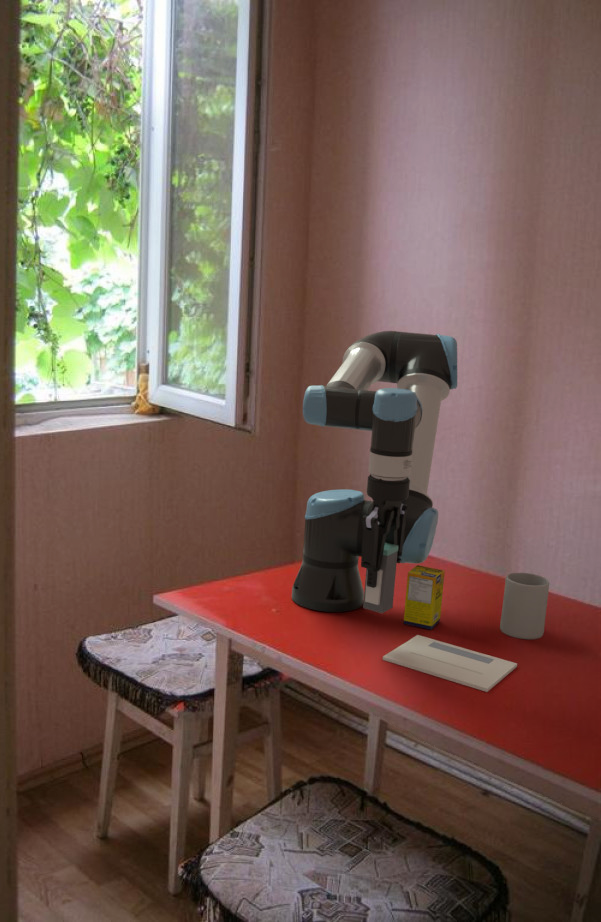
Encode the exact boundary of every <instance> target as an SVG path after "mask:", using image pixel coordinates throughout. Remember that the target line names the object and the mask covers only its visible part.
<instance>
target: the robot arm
mask: <svg viewBox="0 0 601 922" xmlns="http://www.w3.org/2000/svg"><path fill="white" fill-rule="evenodd" d="M341 363H342V364H341V365H340V366H339V368H338V369H337V371H336V372H335V374H333V376H332V377H331V379H330V380H329V381H328V383H327V384H326V385H323V384H320V385H314V384H313V385H309V386H307V388H306V390H305V392H304V396H303V401H302V417H303V420H304V422H305V423H307V424H308V425H315V426H319V427H323V428H324V427H329V428H339V429H349V430H359V431H366V432H367V431H368V432H371V439H370V449H369V450H370V451H369V458H368V459H369V460H368V469H367V470H368V473H369V475H368V476H367V483H366V484H367V485H366V486H367V487H366V495H367V496H368V497H369V498H371V499H372V500H365V495H364V493H363V492H362V491H360V490H355V489H331V490H329V489H328V490H324V491H323V490H322V491H320V492H316V493H314V494H313V495H311V496H310V497H309V498H308V500H307V502H306V508H305V509H306V511H305V515H304V519H305V520H304V531H303V532H304V534H303V535H304V536H303V546H302V547H303V548H302V549H303V550H302V553H303V554H302V562H301V565H300V567H299V570H298V573H297V574H296V577H295V580H294V581H293V584H292V588H291V590H292V591H291V599H292V601H293V602H294V603H296V604H297V605H298V606H301V607H302V608H303V607H304V608H306V609H310V610H313V611H319V612H328V613H329V612H330V613H340V612H343V613H345V612H349V611H355V610H357V609H359V608H361V607H363V603H364V591H365V589H364V587H363V583H362V579H361V575H360V570H359V560H360V561H361V563H360V567H361V568H364V569H366V568H367V569H368V570H367V582H366V594H365V602H369V603H372V604H376V605H379V604H380V596H381V585H382V573H383V570H381V569H380V567H381V562H382V556H383V551H384V545H385V542H386V543H390V544H394V545H398V553H397V564H416V565H419V564H423V563H424V562H425V561H427V558H428V557H429V554H430V552H431V549H432V546H433V543H434V539H435V536H436V531H437V526H438V520H439V511H438V509H436V508H434V507H433V505H434V503H433V499H432V498H431V497H430V496H429V495H428V489H429V483H430V477H431V475H430V474H431V470H432V469H431V468H432V462H433V457H434V456H433V455H434V449H435V443H436V435H437V431H438V424H439V423H438V422H439V417H440V410H441V405H442V404H441V403H442V401H444V400H446V399H447V398H448V397H449V396H450V391H451V390H454V389H457V388H458V342H457V340H456V339H455V337H453V336H450V335H441V334H439V333H436V334H431V333H429V334H428V333H421V332H420V333H418V332H417V333H416V332H408V331H407V332H406V331H396V330H384V331H379V332H378V331H377V332H375V333H372V334H369V335H366V336H364V337H362V338H360V339H358V340H356V341H355V342H354V343H352V344H351V345H349V347H348V348H347V350H346V351H345V352H344V355H343V357H342V361H341ZM377 382H380V383H381V382H382V383H390V384H396V387H395V388H394V387H390V388H389V387H385V388H379V389H377V390H369V389H370V387H371V386H372V385H373V384H375V383H377ZM359 557H361V559H359Z"/></svg>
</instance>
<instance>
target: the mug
mask: <svg viewBox="0 0 601 922" xmlns="http://www.w3.org/2000/svg"><path fill="white" fill-rule="evenodd" d="M549 589H550V580H549V579H547V578H546V577H543V576H542V575H539V574H534V573H529V572H512V573H508V574H507V575H506V576H505V583H504V591H503V592H504V593H503V601H502V608H501V616H500V625H499V628H500V631H501V632H502V633H503V634H505V635H506V636H508V637H512V638H515V639H519V640H520V639H522V640H537V639H540V638H542V637H543V635H544V632H545V623H546V616H547V605H548V598H549V591H550V590H549Z"/></svg>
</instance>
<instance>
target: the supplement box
mask: <svg viewBox="0 0 601 922" xmlns="http://www.w3.org/2000/svg"><path fill="white" fill-rule="evenodd" d="M445 572H446V571H445V570H444V569H439V568H435V567H434V568H433V567H428V566H423V565H419V564H416V565H415V566H414V567H413V568H412V569H410V570H409V571H408V572H407V578H406V579H407V580H406V591H405V592H406V593H405V601H404V612H403V624H404V625H407V626H413V627H417V628H423V629H426V630H427V629H428V630H433V629H434V628H435V626H436V625H437V624H438V623H440V621H441V614H442V606H443V605H442V602H443V594H444V593H443V591H444V581H445Z"/></svg>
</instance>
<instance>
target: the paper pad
mask: <svg viewBox="0 0 601 922" xmlns="http://www.w3.org/2000/svg"><path fill="white" fill-rule="evenodd" d="M382 660H383V661H385V662H389V663H391V664H395V665H399V666H402V667H404V668H409V669H412V670H414V671H417V672H421V673H425V674H427V675H431V676H434V677H437V678H440V679H444V680H447V681H451V682H453V683H457V684H460V685H463V686H466V687H470V688H473V689H477V690H479V691H483V692H486V693H488V692H490V690H491V689H492V688H494V687H495V686H496V685H497V684H498V683H500V682H501V681H502V680H503V679H504V678H506V677H507V676H508V675H509V674H510V673H511V672H513V671H514V670H515V669H516V668H517V667H518V663H516V662H513V661H510V660H506V659H503V658H499V657H496V656H492V655H488V654H485V653H482V652H480V651H474V650H471V649H469V648H468V649H467V648H465V647H461V646H457V645H455V644H451V643H447V642H444V641H440V640H437V639H433V638H430V637H427V636H422V635H420V634H416V635H415V636H413V637H412V638H410V639H409V640H408V641H406V642H404V643H403V644H401V645H399V646H397V647H396V648H395V649H393V650H392V651H389V652H387V653H386V654H385V655H383V656H382Z"/></svg>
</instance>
